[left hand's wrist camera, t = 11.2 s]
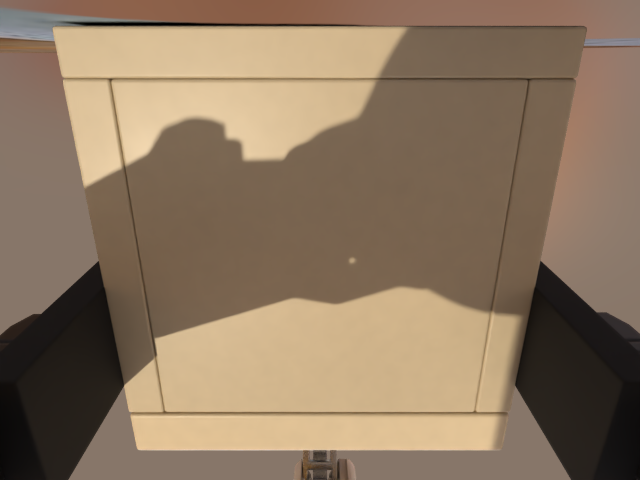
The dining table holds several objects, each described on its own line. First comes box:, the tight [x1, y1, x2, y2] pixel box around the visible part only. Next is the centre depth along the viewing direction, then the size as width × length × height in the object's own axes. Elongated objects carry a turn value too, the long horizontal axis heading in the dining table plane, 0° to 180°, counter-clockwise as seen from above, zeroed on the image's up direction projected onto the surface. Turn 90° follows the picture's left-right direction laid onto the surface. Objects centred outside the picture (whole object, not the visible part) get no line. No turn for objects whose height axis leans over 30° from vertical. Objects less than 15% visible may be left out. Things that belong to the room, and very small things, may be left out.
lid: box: [131, 410, 509, 450], centre depth 21 cm, size 17×10×8 cm, turn 0°
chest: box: [53, 26, 587, 412], centre depth 17 cm, size 17×10×9 cm, turn 0°
